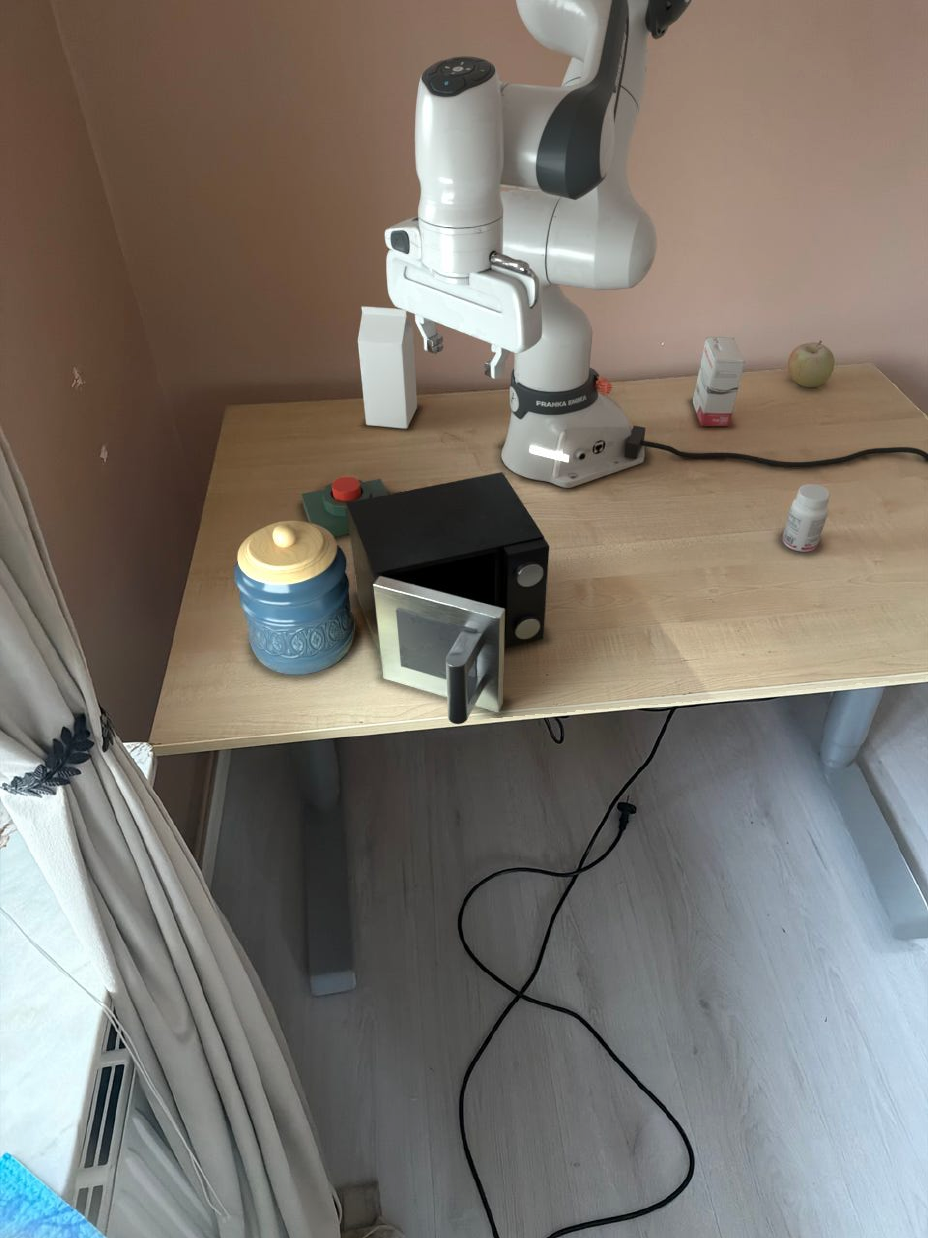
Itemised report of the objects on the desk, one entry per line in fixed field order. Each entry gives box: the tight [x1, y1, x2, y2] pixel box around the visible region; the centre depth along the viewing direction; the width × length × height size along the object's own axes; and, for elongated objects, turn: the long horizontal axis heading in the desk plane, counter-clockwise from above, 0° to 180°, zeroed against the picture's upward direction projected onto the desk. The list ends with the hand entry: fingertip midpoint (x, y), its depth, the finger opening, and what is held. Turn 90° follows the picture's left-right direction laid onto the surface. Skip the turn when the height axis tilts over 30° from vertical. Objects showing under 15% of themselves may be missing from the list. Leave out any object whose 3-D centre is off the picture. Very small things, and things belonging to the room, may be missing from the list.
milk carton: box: [357, 305, 418, 429], centre depth 145 cm, size 7×7×19 cm
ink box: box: [692, 336, 746, 427], centre depth 147 cm, size 9×5×12 cm, turn 179°
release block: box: [301, 478, 389, 538], centre depth 130 cm, size 12×9×4 cm
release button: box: [331, 476, 361, 502], centre depth 128 cm, size 4×4×2 cm
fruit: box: [787, 340, 835, 388], centre depth 155 cm, size 8×7×8 cm
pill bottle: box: [782, 483, 831, 553], centre depth 122 cm, size 5×5×8 cm
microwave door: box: [373, 576, 505, 725], centre depth 98 cm, size 7×15×15 cm, turn 68°
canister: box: [233, 520, 356, 676], centre depth 106 cm, size 13×13×18 cm
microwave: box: [346, 471, 550, 662], centre depth 109 cm, size 16×20×15 cm
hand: (463, 363), depth 104 cm, fingers open, 8 cm apart
